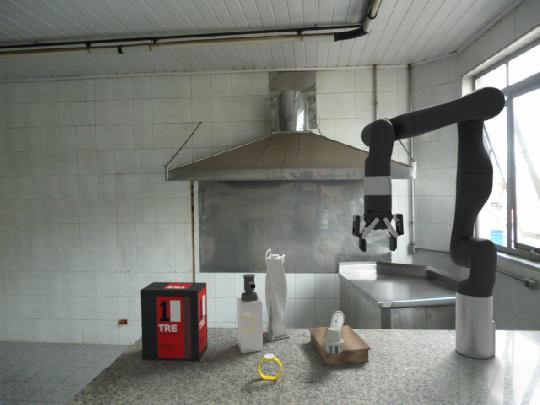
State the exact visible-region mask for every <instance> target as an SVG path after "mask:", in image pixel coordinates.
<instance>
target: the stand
mask: <svg viewBox="0 0 540 405" xmlns="http://www.w3.org/2000/svg"><path fill="white" fill-rule="evenodd" d="M329 327H330V326H319V327H308V331H309V333H310V342H311V344H312V345H313V347H314V349H315V350H316V351H317V353H318V355H319V357H320V358H321V360H322V361H323V363H324V364H325V366H334V365H336V366H337V365H345V364H358V363H368V362H369V351H371V349H372V348H371V347H370V346H369V345H368V343H366V341H365V340H364V339H363V338H362V337H360V335H359V334H358V333H357V332H356V331H355V330H353V329H352V327H351V326H350V325H348V324H347V325H344V324H343V326H342V329H341V339H343V340H344V344H343V350H342V352H340V353H337V354H333V353H328V352H327V351H326V350H325V343H324V338H326V337H327V330H328V328H329Z"/></svg>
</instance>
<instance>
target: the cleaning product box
mask: <svg viewBox="0 0 540 405" xmlns="http://www.w3.org/2000/svg"><path fill="white" fill-rule="evenodd" d="M139 290H140V318H141V319H140V321H141V324H140V325H141V353H142V354H141V359H142V361H143V360H144V361H145V360H146V361H164V362H165V361H166V362H170V361H171V362H198V363H200V361H201V359H202V358H203V356H204V355H205V353H206V352H207V350H208V348H209V347H208V344H209V342H208V308H207V307H208V306H207V303H208V302H207V298H208V297H207V295H208V294H207V282H191V281H190V282H188V281H187V282H185V281H184V282H183V281H177V282H175V281H173V282H172V281H170V282H169V281H153V282H151V283H149V284H148V285H146V286H144V287H143V288H141V289H139Z"/></svg>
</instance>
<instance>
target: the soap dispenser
mask: <svg viewBox="0 0 540 405" xmlns="http://www.w3.org/2000/svg"><path fill="white" fill-rule="evenodd" d="M255 276H256V275H255V274H253V273H250V274H249V273H248V274H247V273H246V274H243V275H242V277H243V292H242V293H241V297H236V302H237V303H236V306H237V309H236V310H237V313H236V314H237V318H236V319H237V345H238V348H239V350H240V353H241V354H247V353H255V352H261V351H262V352H263V351H264V337H263V332H264V330H263V329H264V328H263V325H264V324H263V321H264V320H263V317H264V316H263V302H262V300H261V298H259V296H258V293H257V292H256V291H255V289H256V284H255Z"/></svg>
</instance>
